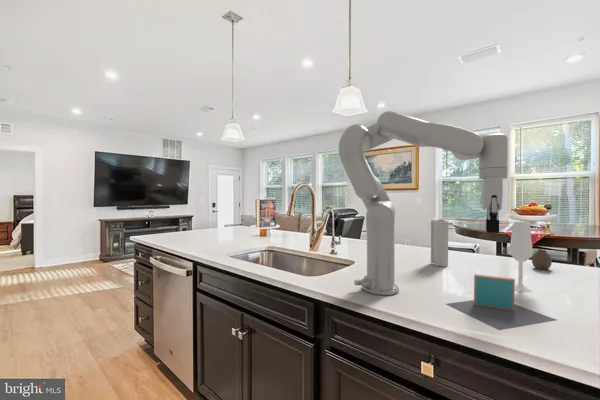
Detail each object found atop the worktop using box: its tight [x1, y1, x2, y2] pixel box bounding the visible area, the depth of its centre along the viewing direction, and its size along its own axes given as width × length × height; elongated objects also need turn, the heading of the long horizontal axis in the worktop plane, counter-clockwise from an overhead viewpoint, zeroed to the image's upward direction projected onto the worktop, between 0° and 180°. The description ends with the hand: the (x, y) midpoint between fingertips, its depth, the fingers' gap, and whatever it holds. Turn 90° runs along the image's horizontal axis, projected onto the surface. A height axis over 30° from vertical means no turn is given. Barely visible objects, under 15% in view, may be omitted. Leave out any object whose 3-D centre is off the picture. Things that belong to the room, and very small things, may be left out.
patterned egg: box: [531, 248, 552, 271], centre depth 134 cm, size 7×7×9 cm
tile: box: [473, 273, 516, 311], centre depth 89 cm, size 10×2×9 cm, turn 61°
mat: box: [445, 299, 557, 331], centre depth 86 cm, size 20×18×1 cm
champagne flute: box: [508, 220, 534, 293], centre depth 106 cm, size 7×7×24 cm
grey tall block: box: [430, 219, 449, 267], centre depth 141 cm, size 7×6×21 cm
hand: (492, 231), depth 95 cm, fingers open, 3 cm apart
